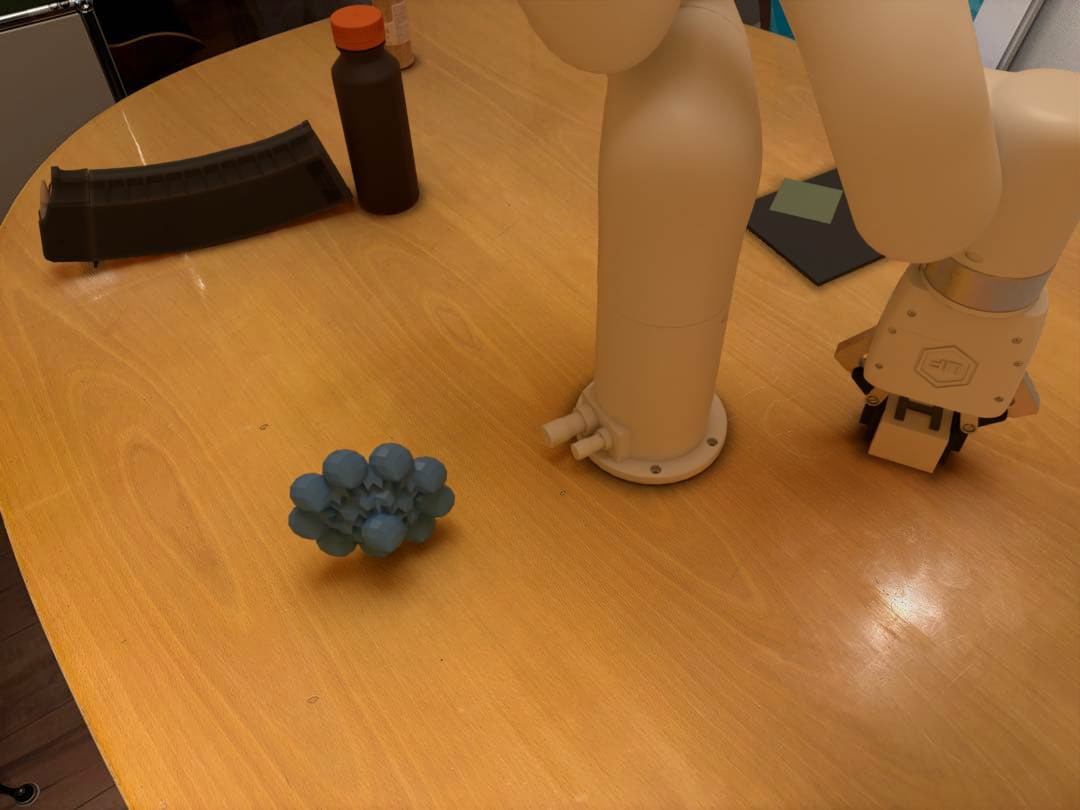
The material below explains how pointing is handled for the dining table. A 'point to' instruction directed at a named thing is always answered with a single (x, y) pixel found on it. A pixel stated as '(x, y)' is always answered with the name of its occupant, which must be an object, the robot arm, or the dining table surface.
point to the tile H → (912, 433)
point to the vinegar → (373, 111)
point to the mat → (812, 227)
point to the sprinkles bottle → (396, 30)
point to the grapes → (370, 501)
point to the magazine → (188, 200)
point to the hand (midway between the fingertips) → (906, 438)
